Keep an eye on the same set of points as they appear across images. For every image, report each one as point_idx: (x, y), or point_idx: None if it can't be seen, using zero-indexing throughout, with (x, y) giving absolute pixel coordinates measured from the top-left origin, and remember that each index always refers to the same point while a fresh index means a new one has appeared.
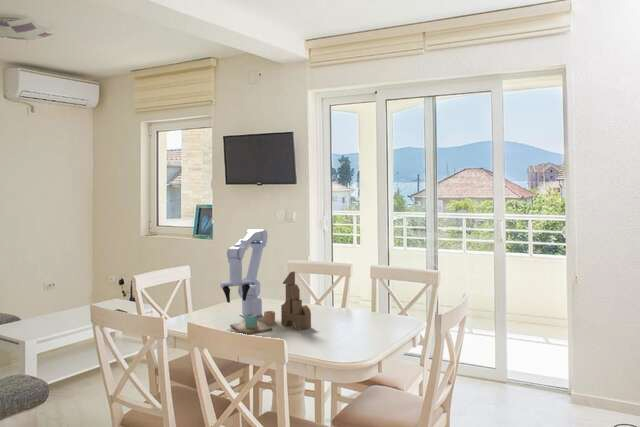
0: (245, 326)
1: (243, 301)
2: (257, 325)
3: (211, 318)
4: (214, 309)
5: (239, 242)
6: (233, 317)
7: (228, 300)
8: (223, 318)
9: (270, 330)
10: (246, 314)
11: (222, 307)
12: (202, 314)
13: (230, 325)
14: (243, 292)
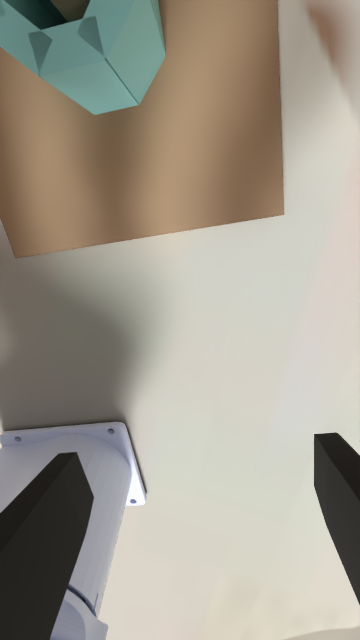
0: (162, 32)
1: (92, 563)
2: None
3: None
4: (257, 621)
5: None
6: (193, 456)
7: (358, 455)
8: (261, 457)
9: None
10: (111, 41)
11: (209, 634)
12: None
13: (281, 209)
14: (18, 637)
